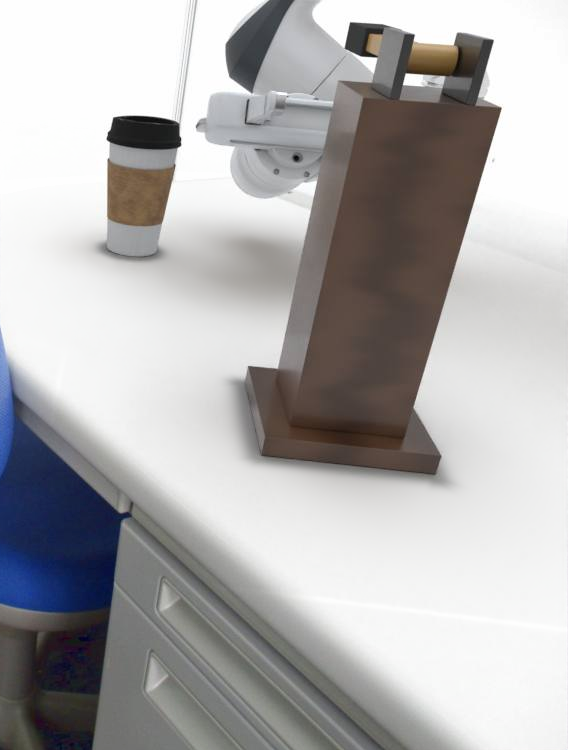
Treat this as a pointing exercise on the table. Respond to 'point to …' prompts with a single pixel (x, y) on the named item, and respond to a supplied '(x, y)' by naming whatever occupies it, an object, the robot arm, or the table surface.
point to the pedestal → (377, 264)
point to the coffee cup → (139, 181)
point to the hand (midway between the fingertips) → (331, 105)
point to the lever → (422, 58)
